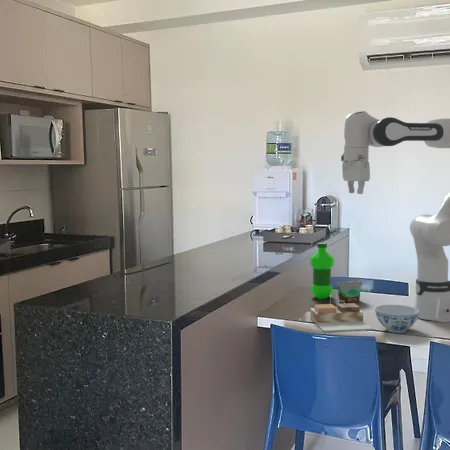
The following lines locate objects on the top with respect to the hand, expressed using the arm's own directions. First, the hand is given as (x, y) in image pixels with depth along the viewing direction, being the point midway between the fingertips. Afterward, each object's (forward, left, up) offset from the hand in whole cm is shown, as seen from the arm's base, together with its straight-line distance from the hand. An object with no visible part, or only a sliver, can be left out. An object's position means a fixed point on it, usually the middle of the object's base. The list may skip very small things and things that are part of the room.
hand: (355, 193), depth 204 cm
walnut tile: (+2, -2, -44) cm, 44 cm away
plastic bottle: (+1, -40, -49) cm, 63 cm away
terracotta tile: (+11, -2, -44) cm, 45 cm away
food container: (-9, -28, -49) cm, 57 cm away
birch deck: (+6, -3, -49) cm, 49 cm away
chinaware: (-11, +14, -49) cm, 52 cm away
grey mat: (+6, +7, -49) cm, 50 cm away
